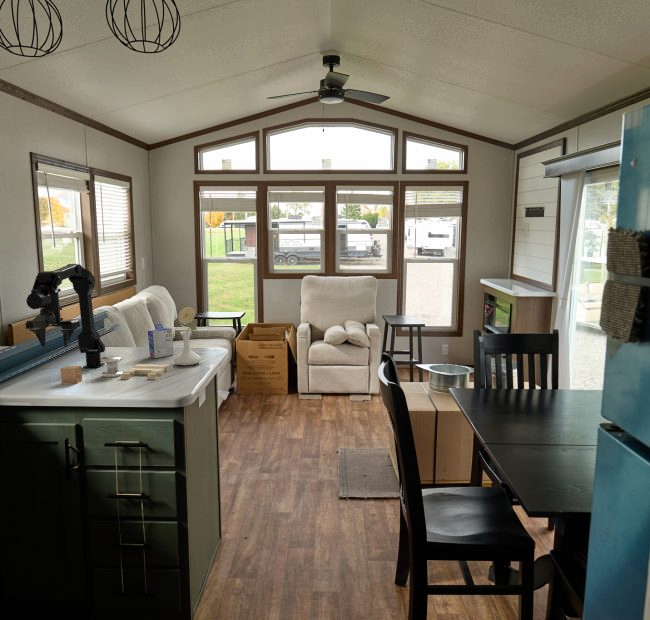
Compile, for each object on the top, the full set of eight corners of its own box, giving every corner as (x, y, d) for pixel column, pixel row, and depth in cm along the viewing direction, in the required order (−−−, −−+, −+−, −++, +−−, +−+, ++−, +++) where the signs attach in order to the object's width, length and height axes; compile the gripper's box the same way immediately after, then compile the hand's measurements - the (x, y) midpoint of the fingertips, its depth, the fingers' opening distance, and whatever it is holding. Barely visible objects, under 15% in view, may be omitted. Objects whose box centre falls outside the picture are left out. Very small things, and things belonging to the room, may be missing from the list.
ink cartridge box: (168, 353, 266) (166, 322, 264) (174, 354, 262) (172, 323, 260) (148, 356, 259) (146, 325, 257) (154, 358, 255) (152, 326, 253)
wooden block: (67, 381, 220) (66, 365, 219) (82, 381, 219) (81, 365, 219) (61, 383, 216) (60, 368, 215) (76, 384, 216) (75, 368, 215)
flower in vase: (168, 364, 243) (165, 306, 240) (191, 359, 252) (188, 303, 248) (186, 369, 235) (182, 309, 231) (209, 364, 243) (206, 305, 239)
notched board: (137, 368, 237) (137, 364, 237) (170, 368, 236) (170, 364, 235) (120, 379, 221) (120, 374, 221) (155, 379, 220) (155, 374, 220)
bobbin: (108, 372, 232) (106, 355, 231) (127, 372, 231) (125, 355, 230) (98, 377, 224) (97, 360, 223) (118, 377, 223) (116, 360, 222)
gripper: (13, 308, 204) (17, 351, 207) (60, 308, 201) (64, 352, 204) (33, 304, 215) (37, 344, 217) (79, 304, 212) (82, 345, 214)
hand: (54, 346), depth 213 cm, fingers open, 9 cm apart
